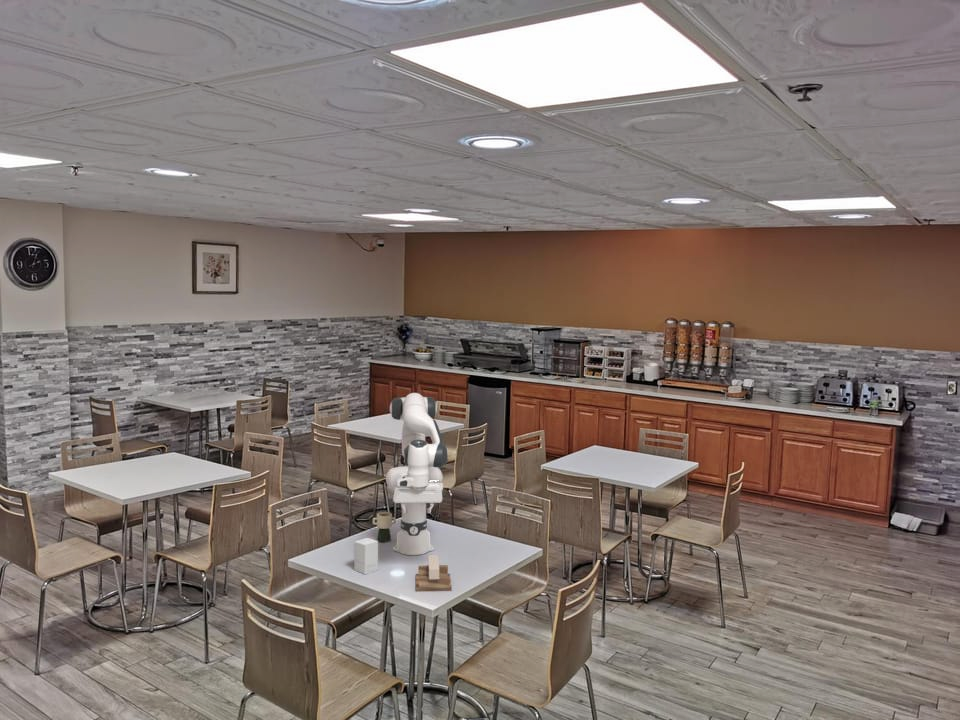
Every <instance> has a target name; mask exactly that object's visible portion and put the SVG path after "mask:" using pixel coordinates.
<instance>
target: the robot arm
mask: <svg viewBox="0 0 960 720" xmlns="http://www.w3.org/2000/svg"><path fill="white" fill-rule="evenodd" d="M437 412H438V404H437V401H436V399H435V398H434V397H431V396H423V395H422V394H420V393H419V392H411V393H408V394H407V395H406V397H405V396H404V397H400V396H399V397H395V398H392V399H391V402H390V404H389V413H390V415H391V418H392V419H393V420H398V421H400V420H401V421H403V424H402V429H401V455H402V457H403V463H404V465H406V466H395V467H393V468H390V469H389V470H388V471H387V472H386V475H385V483H386V485H387V487H388V488H389V489H390V490H391V491H393V493H392V495H393V496H392V501H393V503H394V504H400V506H401V520H400V530H398V532H397V533H396V543H395V545H394V546H393V548H392V551H393V552H397V553H400V554H403V555H406V556H407V555H408V556H418V555H424V554H426V553H428V552H432V551H434V550H435V547H434V545H433V544H432V543H431V532H430V531H429V530H428V519H427V514H431V512H432V509H433V507H434V504H441V503H442V502H443V490H444V483H443V479H444V476H443V475H444V474H443V472H442V471H441V468H443V467H444V466H445V465H446V464H447V463H448V460H449V450H448V449H447V446H446V445H445V443H444V440H443V437H442V435H441V431H440V428H439V425H438V424H437V421H436V419H434V418H435V417H436V414H437ZM426 436H428V437H429V438H430V439H431V442H432V443H428V441H427V440H426ZM427 504H429V507H427Z"/></svg>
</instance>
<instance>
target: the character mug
mask: <svg viewBox="0 0 960 720" xmlns="http://www.w3.org/2000/svg"><path fill="white" fill-rule="evenodd" d="M396 523H397V518H396V517H394V516H393V514H392V512H389V511H380V512H378V513H376V517H373V518H372V525H376V527H377V529H378V531H377V532H378V533H377V541H378V542H389V541H390V540H391V529H390V528H392V526H393V525H395V524H396Z"/></svg>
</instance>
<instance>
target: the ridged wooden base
mask: <svg viewBox="0 0 960 720" xmlns="http://www.w3.org/2000/svg"><path fill="white" fill-rule="evenodd" d="M448 566H449V565H447V564H445V565H444V564H443V565H440V564H439V579H429V571H428V564H427V565H418V573H416V574H415V591H416V592H448V591H449V592H452V591H453V589H452V581H451V580H452V579H451V574H450V573H449V572H448V571H449V567H448Z"/></svg>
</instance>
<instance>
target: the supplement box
mask: <svg viewBox="0 0 960 720" xmlns="http://www.w3.org/2000/svg"><path fill="white" fill-rule="evenodd" d="M353 543H354V545H353V546H354V548H353V549H354V552H353V553H354V554H353V555H354V557H353V559H354V562H353V563H354V565H353V567H354V569H353V570H354V571H356V572H358V573H361V574H364V575H368V574H370V573H374V572H376V571H378V570H379V540H375V539H373V538H369V537H365V538H362V539H359V540H355V541H354V542H353Z"/></svg>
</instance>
